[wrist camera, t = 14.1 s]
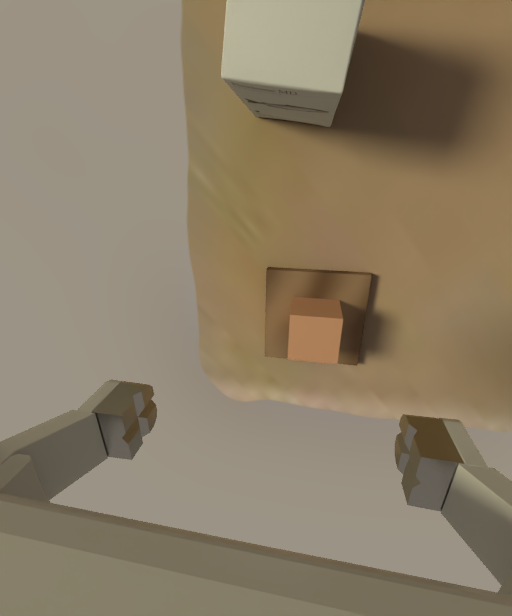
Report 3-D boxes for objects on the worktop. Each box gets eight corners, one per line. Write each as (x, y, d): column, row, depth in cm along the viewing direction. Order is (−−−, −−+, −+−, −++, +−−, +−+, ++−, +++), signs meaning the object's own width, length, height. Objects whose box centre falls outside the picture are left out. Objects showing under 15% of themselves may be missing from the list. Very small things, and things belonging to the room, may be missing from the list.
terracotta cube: (339, 300, 33) (343, 318, 29) (334, 340, 35) (337, 364, 31) (293, 296, 34) (289, 314, 30) (290, 336, 36) (287, 359, 31)
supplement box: (253, 118, 29) (214, 78, 18) (267, 18, 26) (230, -109, 15) (331, 130, 28) (343, 97, 17) (353, 29, 25) (387, -96, 14)
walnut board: (370, 272, 33) (371, 275, 32) (356, 360, 37) (357, 365, 36) (267, 267, 34) (266, 269, 33) (265, 352, 39) (264, 356, 38)
